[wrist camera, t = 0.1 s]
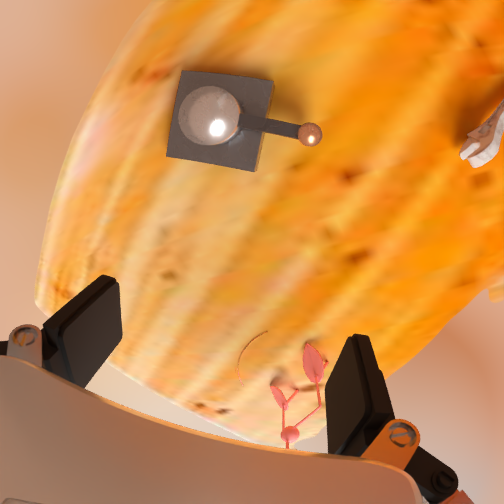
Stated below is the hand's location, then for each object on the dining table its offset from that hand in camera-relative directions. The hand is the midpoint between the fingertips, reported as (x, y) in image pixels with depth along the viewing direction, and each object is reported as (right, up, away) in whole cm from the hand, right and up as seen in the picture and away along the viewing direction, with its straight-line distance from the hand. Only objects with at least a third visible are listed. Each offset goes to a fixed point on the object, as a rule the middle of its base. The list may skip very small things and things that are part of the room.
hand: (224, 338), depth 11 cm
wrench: (+40, +27, +18) cm, 51 cm away
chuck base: (-3, +21, +26) cm, 34 cm away
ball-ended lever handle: (+1, +19, +23) cm, 30 cm away
